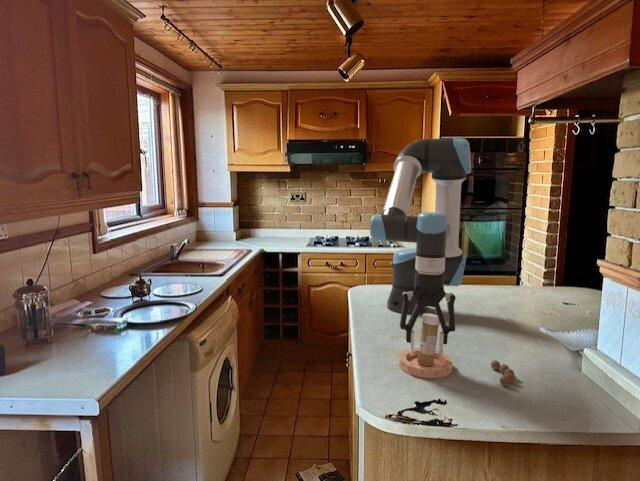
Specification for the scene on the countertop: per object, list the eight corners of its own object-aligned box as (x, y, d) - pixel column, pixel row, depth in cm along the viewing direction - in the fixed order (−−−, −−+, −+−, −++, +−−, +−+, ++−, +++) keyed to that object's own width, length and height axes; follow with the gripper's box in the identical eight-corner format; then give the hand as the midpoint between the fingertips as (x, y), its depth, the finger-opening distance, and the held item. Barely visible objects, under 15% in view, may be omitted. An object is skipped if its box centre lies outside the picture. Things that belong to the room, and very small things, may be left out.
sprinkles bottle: (414, 359, 117) (420, 312, 116) (430, 359, 118) (436, 313, 116) (420, 366, 113) (426, 317, 111) (436, 367, 113) (442, 318, 112)
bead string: (487, 366, 116) (488, 358, 115) (506, 367, 115) (506, 359, 115) (501, 387, 104) (502, 378, 104) (521, 389, 104) (522, 379, 103)
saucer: (397, 354, 123) (397, 347, 123) (446, 357, 122) (446, 349, 121) (401, 377, 109) (401, 368, 109) (457, 380, 108) (457, 371, 108)
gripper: (392, 273, 109) (389, 358, 112) (472, 276, 107) (466, 362, 110) (390, 267, 116) (387, 347, 120) (465, 269, 114) (460, 350, 118)
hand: (425, 354), depth 115 cm, fingers open, 7 cm apart
